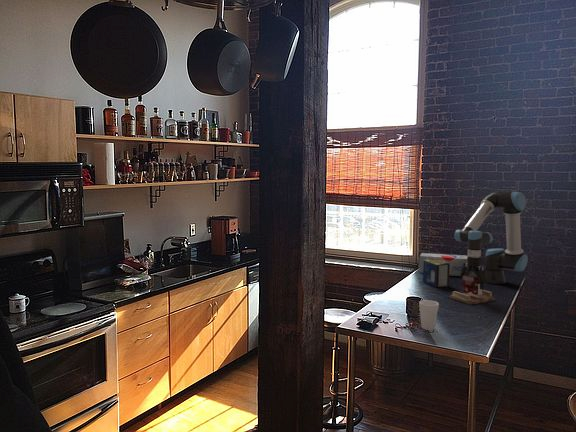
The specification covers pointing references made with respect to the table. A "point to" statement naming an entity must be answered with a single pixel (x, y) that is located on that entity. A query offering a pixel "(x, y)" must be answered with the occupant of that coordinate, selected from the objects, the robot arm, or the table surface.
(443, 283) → the protein box
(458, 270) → the soda pack
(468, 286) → the toy fire truck
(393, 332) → the table surface
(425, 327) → the foam cup
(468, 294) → the cradle
